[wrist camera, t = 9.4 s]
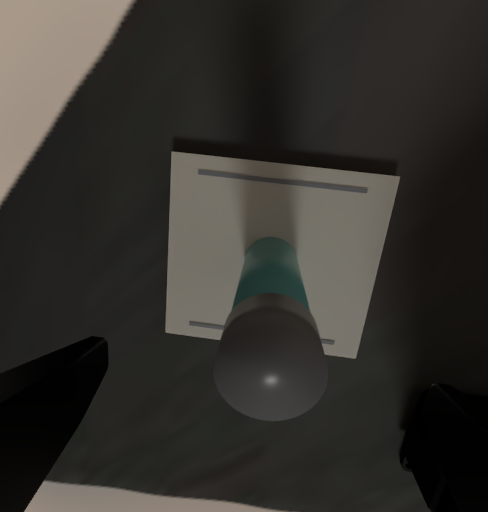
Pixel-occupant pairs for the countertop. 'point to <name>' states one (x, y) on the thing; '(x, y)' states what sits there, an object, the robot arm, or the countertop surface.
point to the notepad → (280, 226)
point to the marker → (271, 339)
